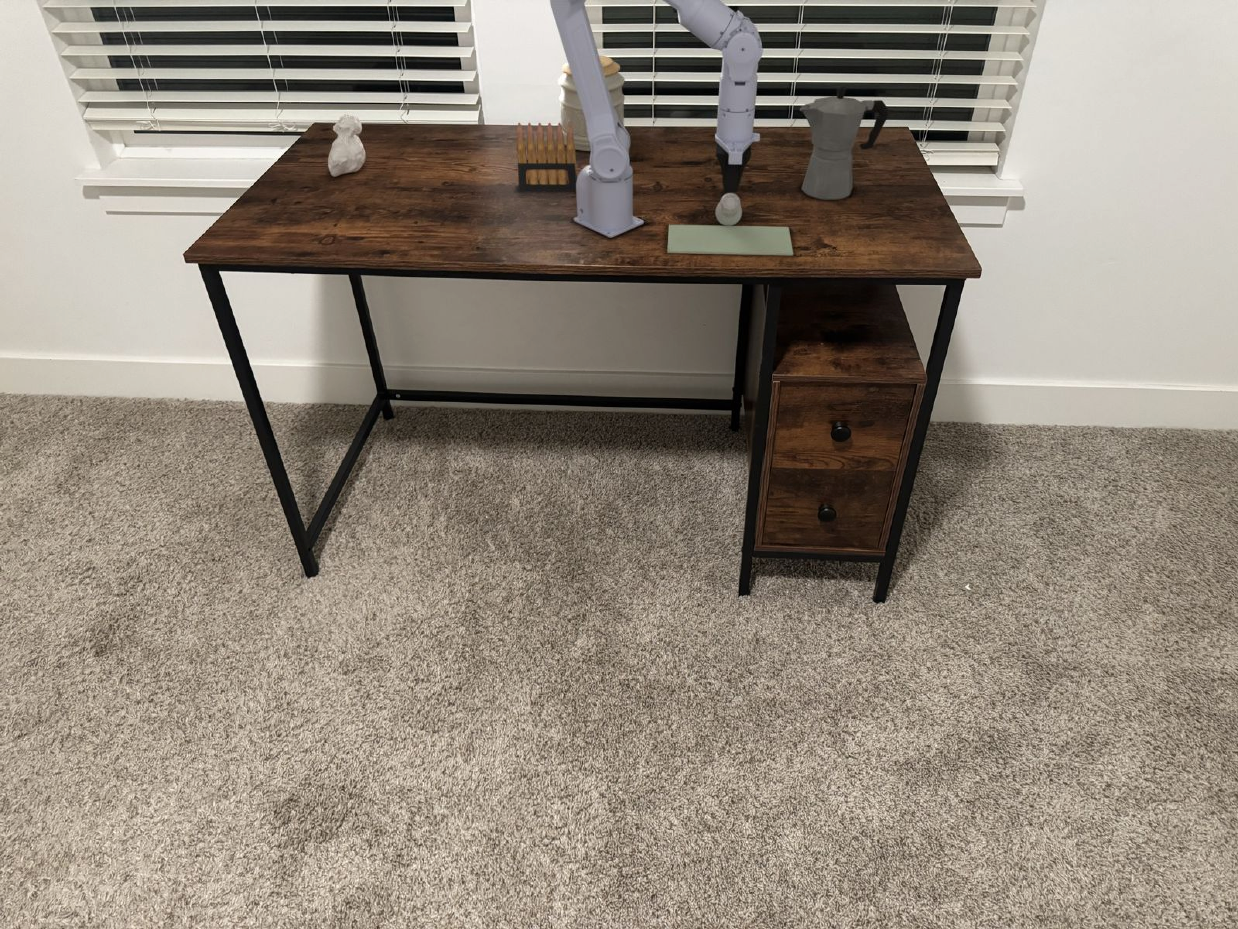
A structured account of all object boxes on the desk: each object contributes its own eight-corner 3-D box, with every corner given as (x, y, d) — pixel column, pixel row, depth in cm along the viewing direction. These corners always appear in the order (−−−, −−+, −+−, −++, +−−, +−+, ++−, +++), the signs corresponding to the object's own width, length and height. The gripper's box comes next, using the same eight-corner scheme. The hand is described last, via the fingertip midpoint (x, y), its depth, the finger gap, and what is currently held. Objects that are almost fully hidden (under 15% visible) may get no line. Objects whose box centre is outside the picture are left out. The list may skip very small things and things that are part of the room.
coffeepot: (795, 201, 157) (808, 96, 145) (785, 180, 164) (797, 78, 152) (881, 199, 157) (901, 94, 145) (868, 178, 164) (886, 76, 153)
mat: (667, 252, 142) (667, 250, 142) (668, 226, 150) (668, 224, 150) (793, 255, 141) (793, 253, 141) (788, 228, 149) (788, 226, 148)
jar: (624, 152, 176) (624, 57, 164) (559, 152, 176) (554, 58, 164) (625, 129, 185) (624, 38, 174) (563, 129, 186) (558, 38, 174)
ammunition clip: (578, 186, 163) (575, 120, 155) (577, 190, 162) (574, 124, 154) (520, 186, 163) (514, 120, 156) (518, 190, 162) (513, 124, 154)
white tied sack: (344, 193, 167) (370, 146, 161) (307, 168, 165) (333, 120, 159) (362, 168, 176) (388, 123, 170) (327, 145, 174) (352, 98, 168)
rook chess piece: (725, 194, 149) (727, 181, 141) (747, 209, 149) (750, 198, 141) (709, 216, 150) (710, 204, 142) (731, 231, 150) (733, 221, 142)
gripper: (765, 123, 132) (757, 209, 141) (760, 91, 143) (752, 173, 152) (717, 122, 132) (712, 209, 141) (716, 91, 143) (711, 173, 152)
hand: (730, 190), depth 146 cm, fingers closed
